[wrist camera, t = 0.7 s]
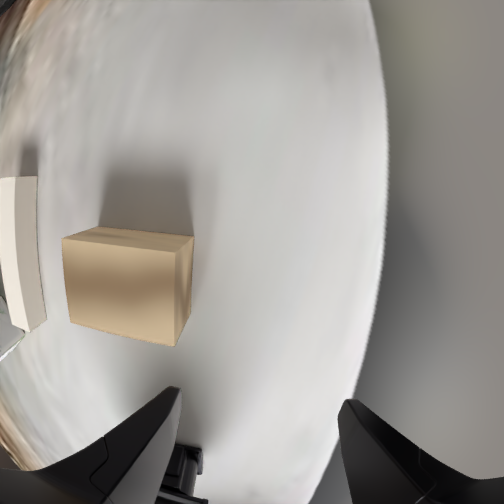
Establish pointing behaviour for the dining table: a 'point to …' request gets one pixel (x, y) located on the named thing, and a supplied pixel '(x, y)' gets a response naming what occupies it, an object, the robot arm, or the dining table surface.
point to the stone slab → (5, 5)
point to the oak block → (129, 282)
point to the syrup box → (8, 331)
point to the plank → (20, 252)
